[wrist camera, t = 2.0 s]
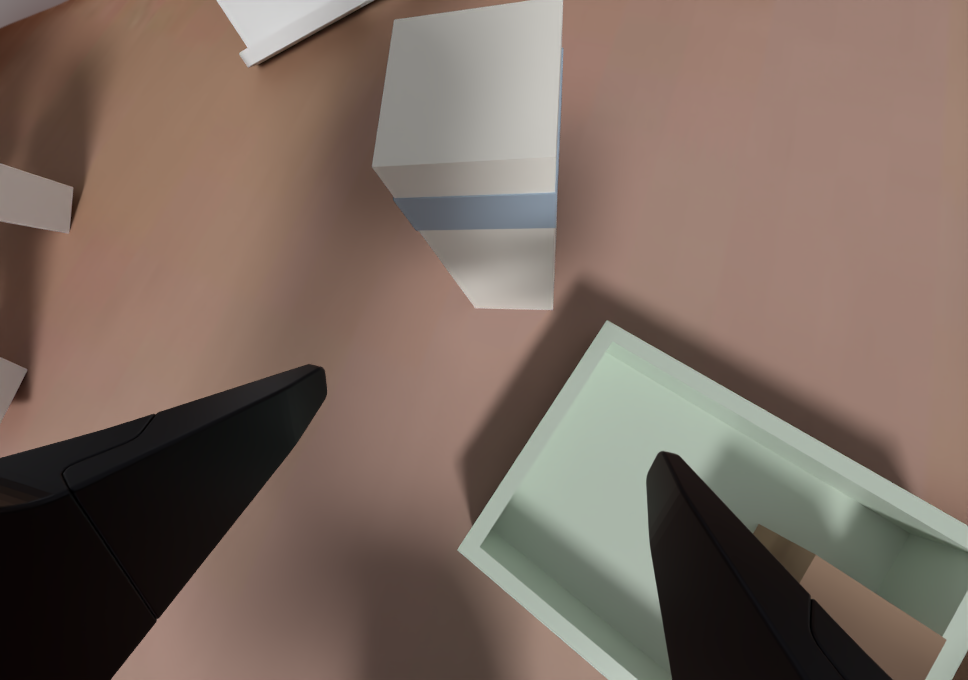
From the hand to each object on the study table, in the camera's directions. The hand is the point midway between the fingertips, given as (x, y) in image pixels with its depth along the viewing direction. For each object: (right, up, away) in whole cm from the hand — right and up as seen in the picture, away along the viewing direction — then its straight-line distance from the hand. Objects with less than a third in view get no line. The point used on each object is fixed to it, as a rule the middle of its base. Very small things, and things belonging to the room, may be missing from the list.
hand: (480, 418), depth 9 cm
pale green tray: (+10, -8, +10) cm, 16 cm away
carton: (+2, +6, +14) cm, 16 cm away
